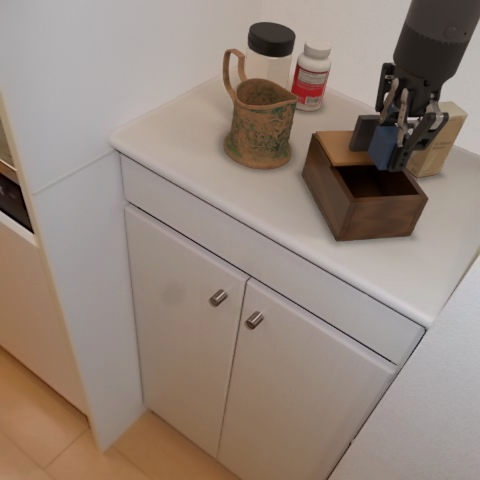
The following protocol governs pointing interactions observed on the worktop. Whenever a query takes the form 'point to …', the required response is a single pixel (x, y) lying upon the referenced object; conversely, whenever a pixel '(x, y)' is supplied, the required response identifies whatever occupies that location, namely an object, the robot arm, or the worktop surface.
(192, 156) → the worktop surface
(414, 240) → the worktop surface
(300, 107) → the pill bottle
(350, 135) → the slide door
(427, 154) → the box
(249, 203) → the worktop surface
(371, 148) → the block
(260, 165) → the brown green pitcher
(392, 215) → the walnut box
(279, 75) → the jar
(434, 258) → the worktop surface
